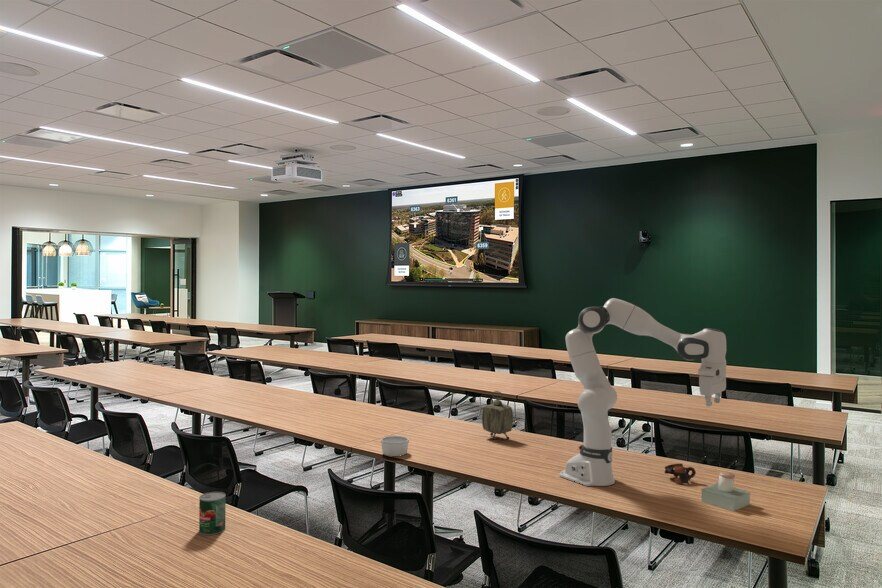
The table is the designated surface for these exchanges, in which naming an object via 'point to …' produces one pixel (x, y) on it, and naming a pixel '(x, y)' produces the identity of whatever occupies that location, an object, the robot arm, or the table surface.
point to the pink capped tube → (726, 481)
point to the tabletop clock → (497, 417)
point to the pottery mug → (680, 472)
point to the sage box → (725, 497)
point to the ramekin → (394, 445)
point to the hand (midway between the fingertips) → (713, 404)
